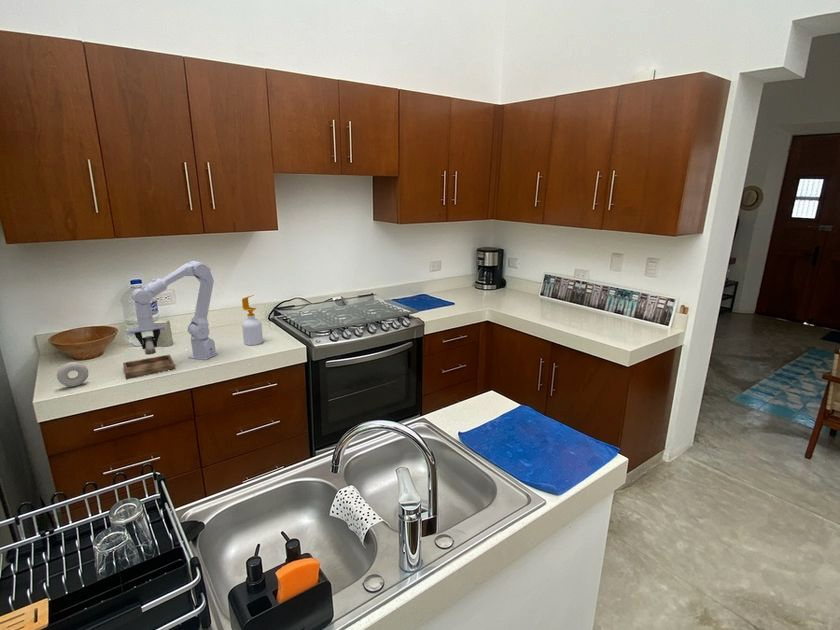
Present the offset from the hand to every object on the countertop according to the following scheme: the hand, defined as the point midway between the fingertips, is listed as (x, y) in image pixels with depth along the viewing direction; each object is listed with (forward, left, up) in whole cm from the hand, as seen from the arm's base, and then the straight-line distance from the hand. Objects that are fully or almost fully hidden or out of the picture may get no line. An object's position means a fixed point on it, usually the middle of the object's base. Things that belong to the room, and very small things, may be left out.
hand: (149, 347), depth 195 cm
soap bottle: (-22, -41, -10) cm, 48 cm away
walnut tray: (+1, +1, -9) cm, 9 cm away
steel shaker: (0, 0, -2) cm, 3 cm away
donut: (+15, +23, -10) cm, 29 cm away
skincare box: (+18, -26, -10) cm, 33 cm away
